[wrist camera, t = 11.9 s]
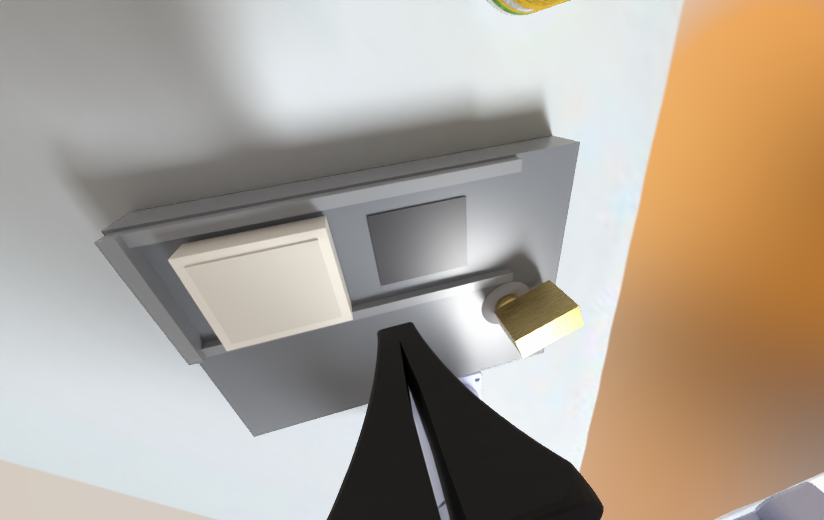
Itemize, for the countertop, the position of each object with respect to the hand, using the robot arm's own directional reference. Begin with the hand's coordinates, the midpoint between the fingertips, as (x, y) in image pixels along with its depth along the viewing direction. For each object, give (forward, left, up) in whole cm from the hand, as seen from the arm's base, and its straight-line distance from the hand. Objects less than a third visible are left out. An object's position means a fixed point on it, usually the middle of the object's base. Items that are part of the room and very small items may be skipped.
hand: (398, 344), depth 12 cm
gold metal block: (-6, -10, -7) cm, 14 cm away
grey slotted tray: (-5, 0, -10) cm, 11 cm away
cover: (0, +6, -7) cm, 9 cm away
